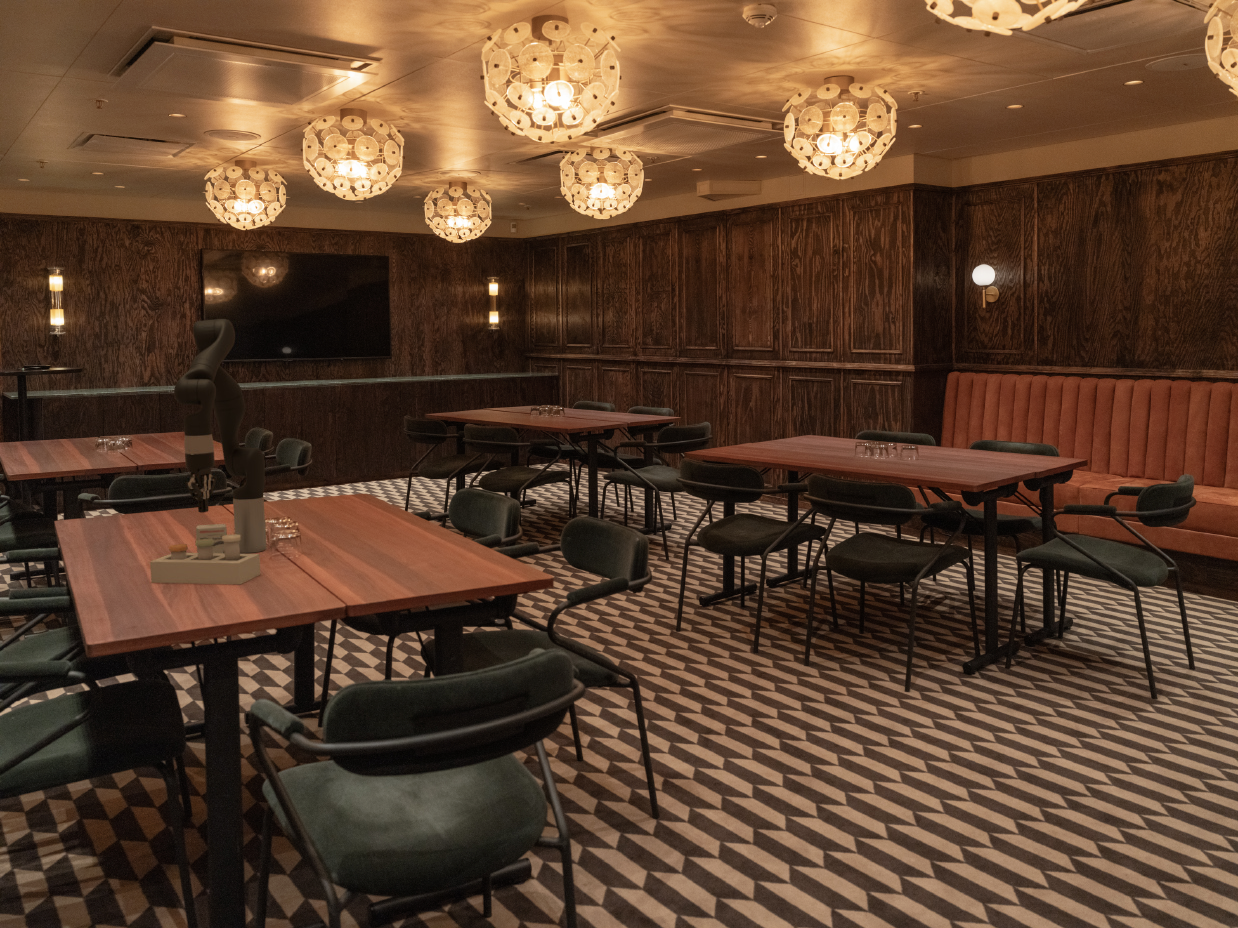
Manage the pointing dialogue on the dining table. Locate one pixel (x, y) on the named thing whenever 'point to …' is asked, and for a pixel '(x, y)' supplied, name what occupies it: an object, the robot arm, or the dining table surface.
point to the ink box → (212, 535)
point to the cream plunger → (231, 547)
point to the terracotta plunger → (178, 551)
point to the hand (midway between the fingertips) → (203, 512)
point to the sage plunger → (205, 549)
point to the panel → (205, 569)
